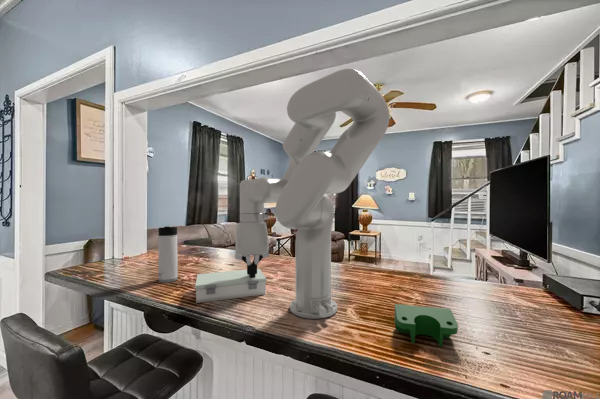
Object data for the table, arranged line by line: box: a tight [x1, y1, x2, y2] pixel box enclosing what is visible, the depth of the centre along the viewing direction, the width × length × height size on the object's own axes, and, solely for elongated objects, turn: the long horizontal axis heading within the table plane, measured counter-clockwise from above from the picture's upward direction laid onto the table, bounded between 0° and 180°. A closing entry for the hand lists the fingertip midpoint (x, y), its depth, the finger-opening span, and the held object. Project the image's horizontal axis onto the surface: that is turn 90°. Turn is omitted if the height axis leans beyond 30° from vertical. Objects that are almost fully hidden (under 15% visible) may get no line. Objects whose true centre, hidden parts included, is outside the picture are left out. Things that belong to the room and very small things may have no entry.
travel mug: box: [157, 226, 179, 284], centre depth 95 cm, size 6×7×20 cm
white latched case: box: [195, 281, 267, 304], centre depth 82 cm, size 13×20×4 cm, turn 109°
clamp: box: [394, 303, 459, 348], centre depth 54 cm, size 12×6×9 cm, turn 69°
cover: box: [194, 267, 267, 290], centre depth 82 cm, size 14×20×1 cm
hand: (252, 276), depth 82 cm, fingers closed
